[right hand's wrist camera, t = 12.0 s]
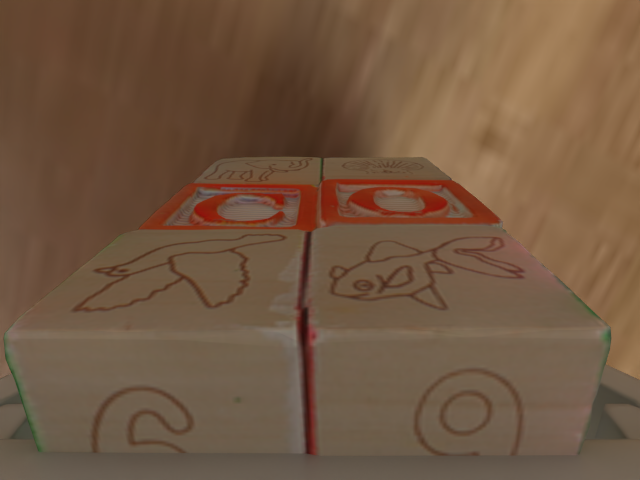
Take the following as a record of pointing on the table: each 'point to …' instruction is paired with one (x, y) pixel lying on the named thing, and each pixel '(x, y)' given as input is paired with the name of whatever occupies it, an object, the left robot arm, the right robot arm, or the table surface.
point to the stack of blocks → (312, 325)
